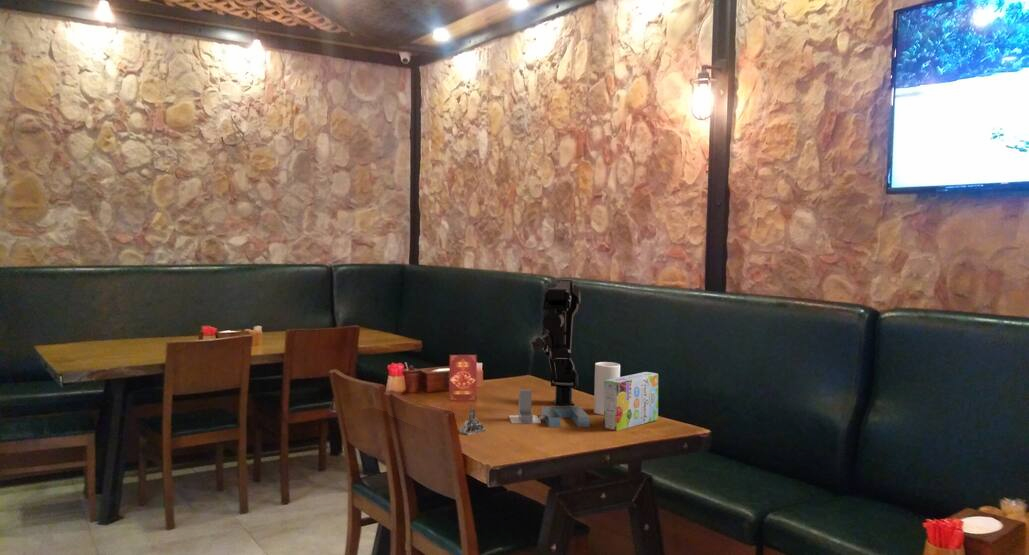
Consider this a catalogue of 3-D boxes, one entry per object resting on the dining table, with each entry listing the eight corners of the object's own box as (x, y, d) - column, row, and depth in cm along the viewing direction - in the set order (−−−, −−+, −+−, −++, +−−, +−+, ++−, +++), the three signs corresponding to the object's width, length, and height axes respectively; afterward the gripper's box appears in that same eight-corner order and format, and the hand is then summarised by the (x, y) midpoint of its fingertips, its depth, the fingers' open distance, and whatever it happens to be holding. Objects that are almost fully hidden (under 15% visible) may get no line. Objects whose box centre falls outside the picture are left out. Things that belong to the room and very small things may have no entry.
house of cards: (470, 427, 240) (470, 401, 240) (489, 432, 234) (490, 406, 234) (447, 431, 234) (447, 406, 233) (467, 437, 228) (467, 411, 227)
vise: (535, 415, 254) (535, 406, 254) (579, 415, 256) (579, 406, 256) (542, 427, 240) (542, 417, 239) (589, 427, 241) (589, 417, 241)
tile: (508, 417, 252) (508, 415, 252) (536, 416, 253) (536, 415, 253) (511, 424, 243) (511, 422, 243) (540, 423, 244) (541, 422, 244)
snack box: (644, 417, 255) (645, 371, 254) (658, 420, 251) (660, 373, 250) (602, 428, 240) (603, 379, 239) (616, 431, 236) (618, 381, 235)
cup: (618, 415, 256) (619, 366, 255) (592, 414, 258) (593, 365, 257) (619, 410, 264) (621, 362, 263) (595, 408, 266) (596, 361, 265)
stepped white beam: (518, 417, 250) (518, 389, 249) (529, 417, 250) (530, 388, 249) (521, 422, 243) (521, 393, 242) (532, 422, 243) (533, 393, 243)
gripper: (527, 324, 261) (526, 371, 262) (536, 331, 242) (535, 382, 243) (561, 324, 262) (560, 370, 263) (571, 331, 243) (570, 381, 244)
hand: (555, 376), depth 253 cm, fingers open, 9 cm apart
